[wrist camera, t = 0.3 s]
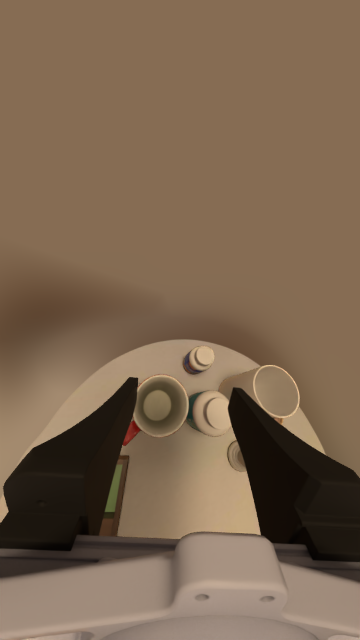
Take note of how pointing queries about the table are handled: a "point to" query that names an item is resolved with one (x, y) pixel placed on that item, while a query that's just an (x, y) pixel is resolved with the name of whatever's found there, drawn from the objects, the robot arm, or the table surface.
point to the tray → (115, 499)
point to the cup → (266, 389)
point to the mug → (158, 407)
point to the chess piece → (236, 457)
